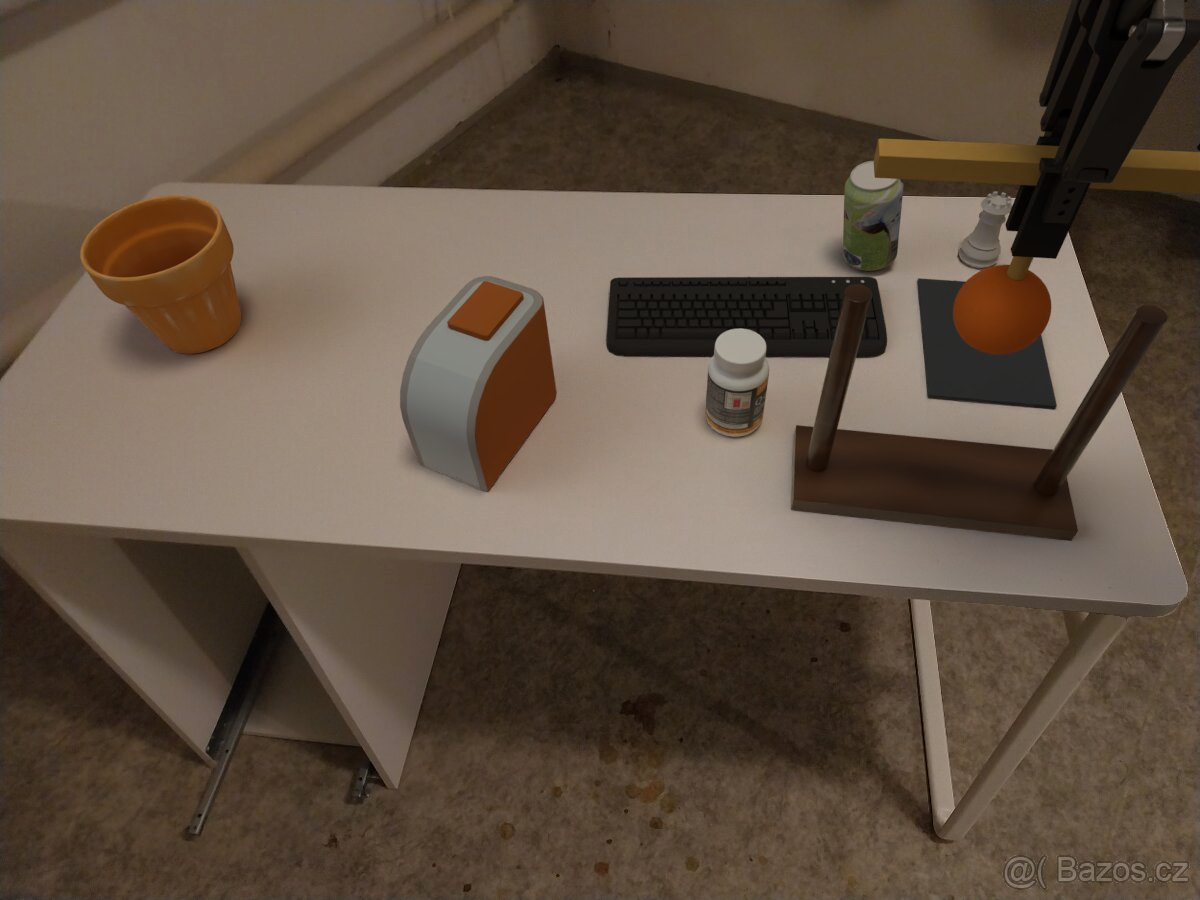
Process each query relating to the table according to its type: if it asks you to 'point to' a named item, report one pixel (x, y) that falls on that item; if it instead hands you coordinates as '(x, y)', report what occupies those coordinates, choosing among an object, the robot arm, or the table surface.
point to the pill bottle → (737, 383)
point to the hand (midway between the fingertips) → (1030, 240)
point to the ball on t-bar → (1012, 292)
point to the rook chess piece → (986, 233)
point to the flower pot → (168, 269)
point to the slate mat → (976, 359)
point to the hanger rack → (950, 452)
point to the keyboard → (735, 314)
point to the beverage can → (871, 218)
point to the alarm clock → (478, 381)
